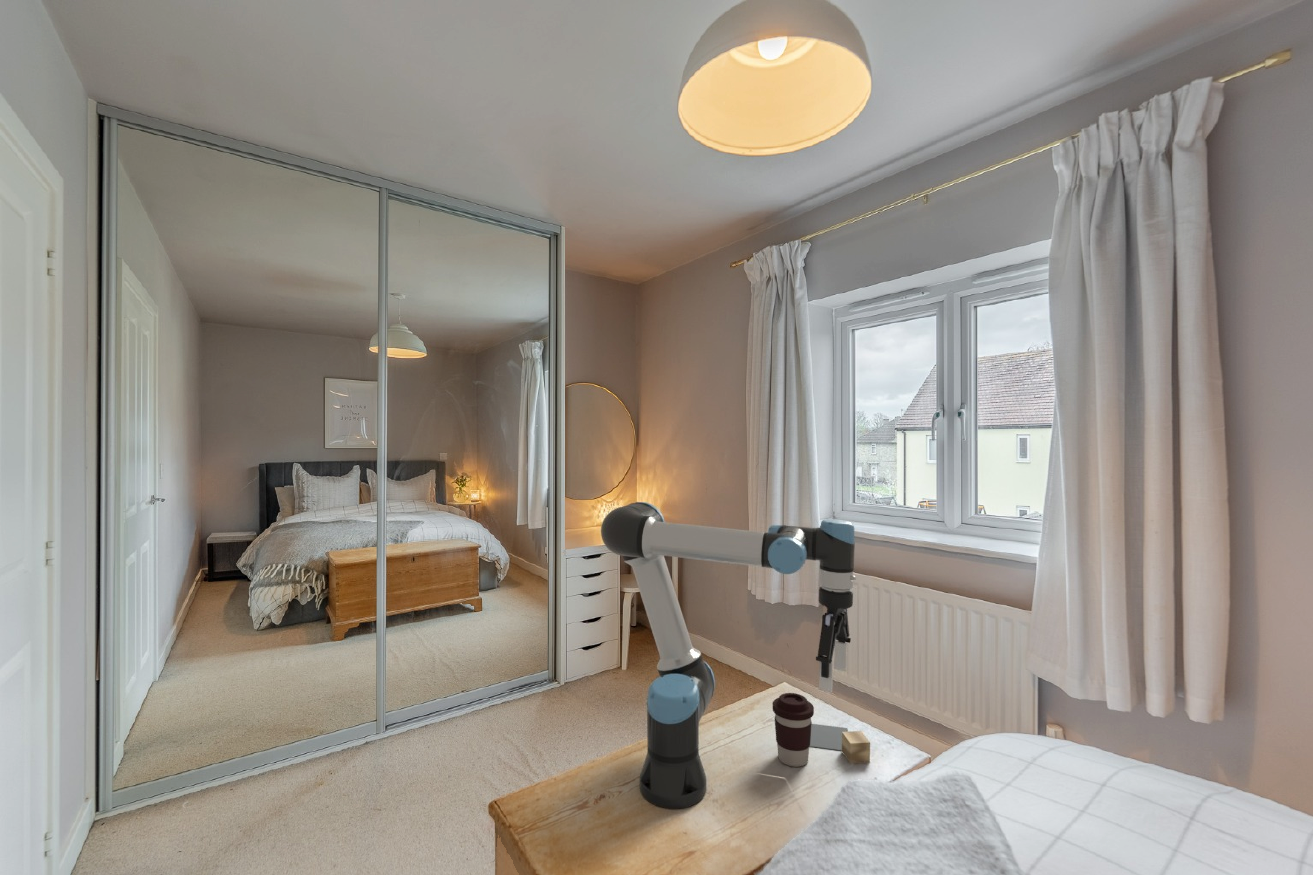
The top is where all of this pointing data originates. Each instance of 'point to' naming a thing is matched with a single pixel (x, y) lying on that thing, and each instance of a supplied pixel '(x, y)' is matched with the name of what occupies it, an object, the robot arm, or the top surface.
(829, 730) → the display mat
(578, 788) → the top surface
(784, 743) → the coffee cup
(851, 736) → the oak block
